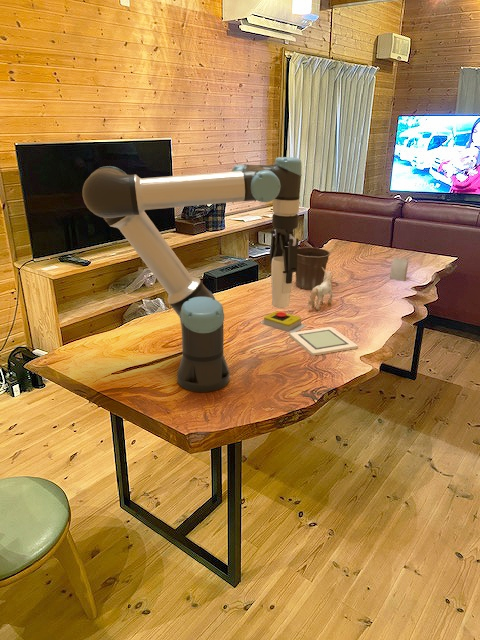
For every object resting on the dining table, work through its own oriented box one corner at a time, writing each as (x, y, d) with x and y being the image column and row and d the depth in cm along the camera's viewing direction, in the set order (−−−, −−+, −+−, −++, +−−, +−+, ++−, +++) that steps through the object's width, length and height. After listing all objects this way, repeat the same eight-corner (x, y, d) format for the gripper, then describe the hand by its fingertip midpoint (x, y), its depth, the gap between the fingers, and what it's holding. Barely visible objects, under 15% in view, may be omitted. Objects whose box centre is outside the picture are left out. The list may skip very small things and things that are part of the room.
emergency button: (274, 306, 187) (307, 316, 178) (273, 317, 189) (306, 327, 180) (259, 313, 180) (293, 323, 172) (259, 324, 182) (293, 334, 173)
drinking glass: (266, 307, 150) (268, 259, 145) (274, 300, 156) (277, 255, 150) (286, 311, 148) (289, 263, 142) (294, 304, 153) (297, 258, 147)
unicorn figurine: (335, 299, 206) (338, 269, 201) (324, 315, 190) (326, 282, 185) (319, 297, 209) (321, 267, 204) (306, 312, 193) (308, 279, 187)
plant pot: (334, 289, 218) (337, 254, 212) (302, 293, 213) (304, 257, 207) (315, 279, 232) (318, 246, 226) (285, 282, 227) (287, 248, 221)
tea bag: (403, 281, 232) (406, 260, 228) (389, 278, 235) (392, 258, 231) (405, 279, 235) (408, 259, 231) (391, 276, 238) (394, 256, 234)
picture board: (312, 356, 157) (313, 353, 156) (289, 335, 171) (289, 332, 171) (357, 348, 162) (358, 345, 162) (331, 329, 177) (331, 326, 177)
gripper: (313, 219, 134) (307, 298, 143) (282, 207, 151) (278, 278, 159) (289, 220, 131) (284, 300, 140) (260, 208, 148) (257, 280, 157)
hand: (281, 289), depth 150 cm, fingers closed on drinking glass, 7 cm apart
